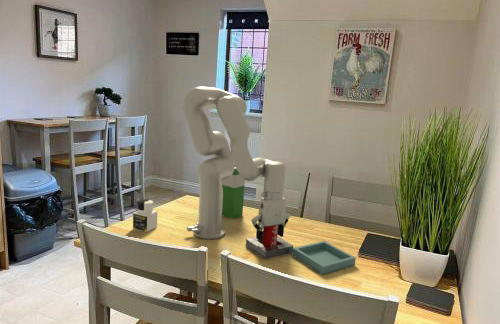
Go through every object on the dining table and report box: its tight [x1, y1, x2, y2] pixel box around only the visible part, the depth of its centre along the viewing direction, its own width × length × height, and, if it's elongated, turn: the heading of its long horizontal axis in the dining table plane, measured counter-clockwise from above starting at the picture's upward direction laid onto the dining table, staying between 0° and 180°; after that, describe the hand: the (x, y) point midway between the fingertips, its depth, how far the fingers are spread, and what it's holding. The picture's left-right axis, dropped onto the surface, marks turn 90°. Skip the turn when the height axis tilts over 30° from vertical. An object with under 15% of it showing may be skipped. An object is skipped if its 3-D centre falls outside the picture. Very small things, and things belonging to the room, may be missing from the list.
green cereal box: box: [221, 164, 246, 220], centre depth 174 cm, size 18×7×24 cm, turn 54°
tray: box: [291, 240, 357, 276], centre depth 132 cm, size 16×16×3 cm
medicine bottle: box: [132, 198, 158, 233], centre depth 150 cm, size 7×7×12 cm
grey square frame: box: [245, 235, 294, 261], centre depth 138 cm, size 13×13×3 cm
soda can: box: [262, 225, 278, 248], centre depth 137 cm, size 6×6×12 cm
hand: (269, 237), depth 137 cm, fingers open, 9 cm apart
